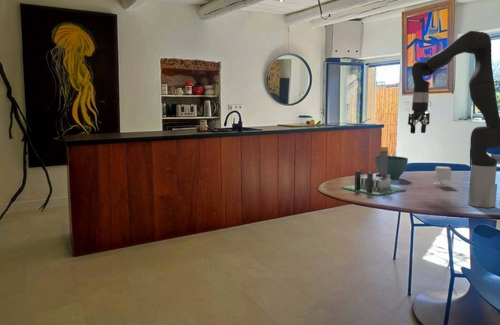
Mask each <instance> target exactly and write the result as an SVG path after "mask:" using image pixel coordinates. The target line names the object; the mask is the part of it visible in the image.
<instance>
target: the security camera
mask: <svg viewBox="0 0 500 325" xmlns="http://www.w3.org/2000/svg"><path fill="white" fill-rule="evenodd" d="M434 171H435V172H434V178H435V180H437V181H438V182H432V186H434V187H437V188H447V187H448V184H447V183H445V182H443V181H442V180H444V181H445V180H448V181H451V178H452V177H451V176H452V168H451V167H449V166H435V170H434Z"/></svg>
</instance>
